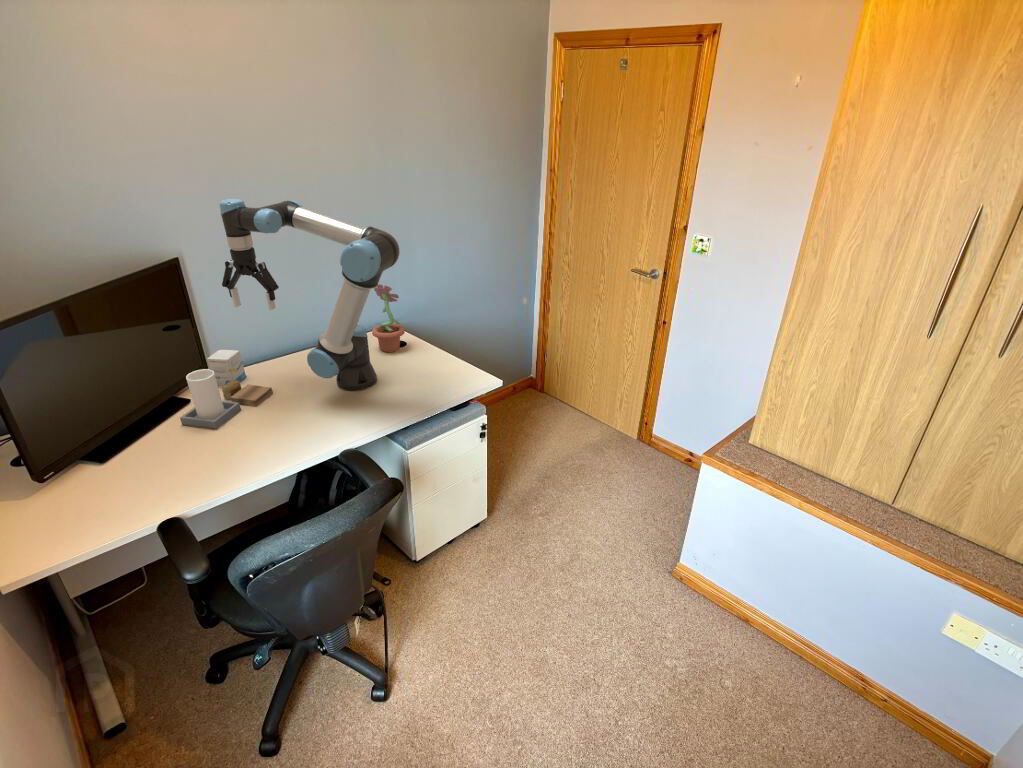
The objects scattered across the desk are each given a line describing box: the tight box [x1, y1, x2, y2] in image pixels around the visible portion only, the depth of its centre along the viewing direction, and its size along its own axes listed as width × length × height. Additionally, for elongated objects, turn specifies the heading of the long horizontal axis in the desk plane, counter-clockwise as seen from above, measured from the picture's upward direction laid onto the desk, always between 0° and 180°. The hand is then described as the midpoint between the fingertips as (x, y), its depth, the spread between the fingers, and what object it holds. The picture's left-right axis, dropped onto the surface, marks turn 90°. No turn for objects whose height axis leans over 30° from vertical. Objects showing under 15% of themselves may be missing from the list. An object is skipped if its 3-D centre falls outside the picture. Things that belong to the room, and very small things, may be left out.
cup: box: [185, 368, 225, 420], centre depth 182 cm, size 8×8×16 cm
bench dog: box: [221, 380, 242, 401], centre depth 198 cm, size 3×6×5 cm, turn 169°
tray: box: [179, 400, 242, 431], centre depth 185 cm, size 13×13×3 cm
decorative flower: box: [371, 283, 405, 353], centre depth 231 cm, size 15×14×30 cm
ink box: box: [206, 349, 247, 387], centre depth 207 cm, size 8×8×12 cm
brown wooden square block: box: [230, 384, 274, 407], centre depth 198 cm, size 10×10×3 cm
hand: (255, 307), depth 192 cm, fingers open, 13 cm apart
